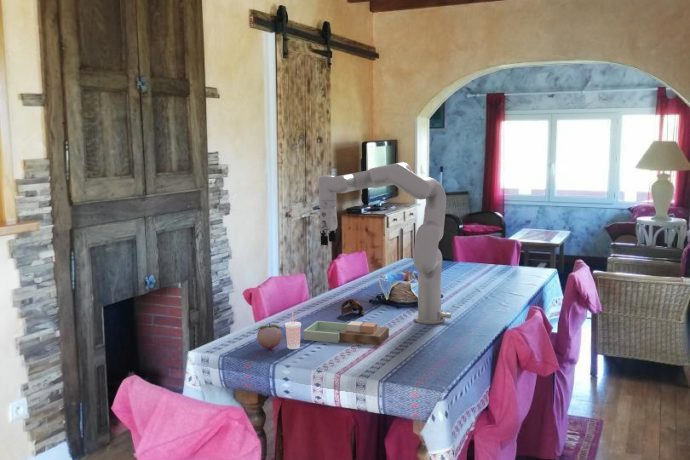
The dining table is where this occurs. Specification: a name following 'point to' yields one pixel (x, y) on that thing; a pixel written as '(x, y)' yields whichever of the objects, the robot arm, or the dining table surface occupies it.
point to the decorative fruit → (269, 336)
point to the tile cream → (354, 326)
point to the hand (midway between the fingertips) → (328, 243)
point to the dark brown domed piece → (351, 306)
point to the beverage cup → (293, 334)
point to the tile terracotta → (369, 327)
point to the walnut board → (364, 336)
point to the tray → (324, 331)
